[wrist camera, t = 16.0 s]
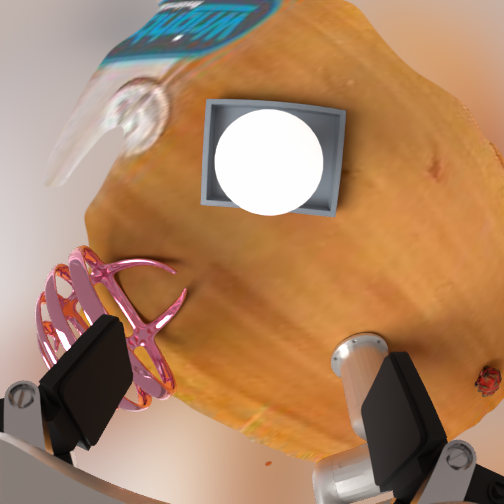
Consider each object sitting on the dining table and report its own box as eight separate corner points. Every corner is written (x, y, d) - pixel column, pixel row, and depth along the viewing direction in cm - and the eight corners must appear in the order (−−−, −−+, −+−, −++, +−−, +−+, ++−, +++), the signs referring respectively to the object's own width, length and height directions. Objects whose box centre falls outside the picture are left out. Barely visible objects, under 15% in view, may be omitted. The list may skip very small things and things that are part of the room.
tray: (340, 113, 39) (346, 110, 35) (330, 211, 44) (335, 217, 40) (212, 103, 40) (206, 99, 36) (207, 200, 45) (200, 204, 42)
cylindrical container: (270, 124, 39) (260, 88, 16) (306, 154, 41) (345, 158, 17) (240, 159, 42) (193, 170, 18) (276, 189, 43) (275, 236, 19)
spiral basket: (173, 233, 27) (-14, 362, 18) (256, 381, 42) (124, 463, 32) (131, 195, 49) (20, 269, 40) (189, 303, 64) (97, 363, 54)
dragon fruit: (483, 380, 57) (474, 360, 57) (505, 374, 51) (498, 354, 50) (478, 403, 52) (469, 385, 52) (502, 398, 45) (495, 379, 45)
